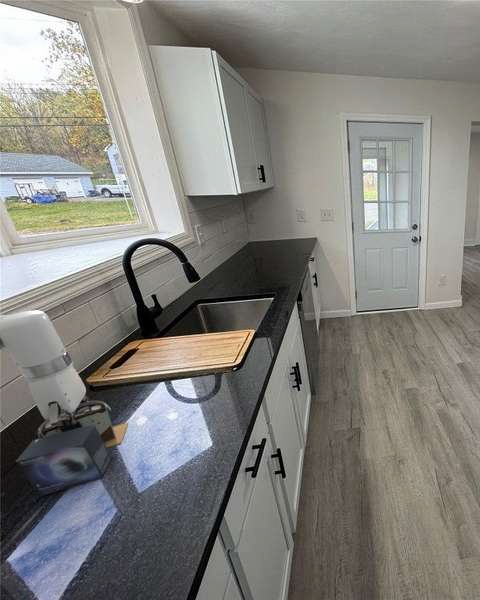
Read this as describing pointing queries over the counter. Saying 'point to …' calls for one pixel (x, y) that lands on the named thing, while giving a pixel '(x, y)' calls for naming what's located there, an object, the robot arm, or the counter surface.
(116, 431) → the cork pad
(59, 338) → the robot arm
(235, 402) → the counter surface
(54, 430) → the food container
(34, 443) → the small box
